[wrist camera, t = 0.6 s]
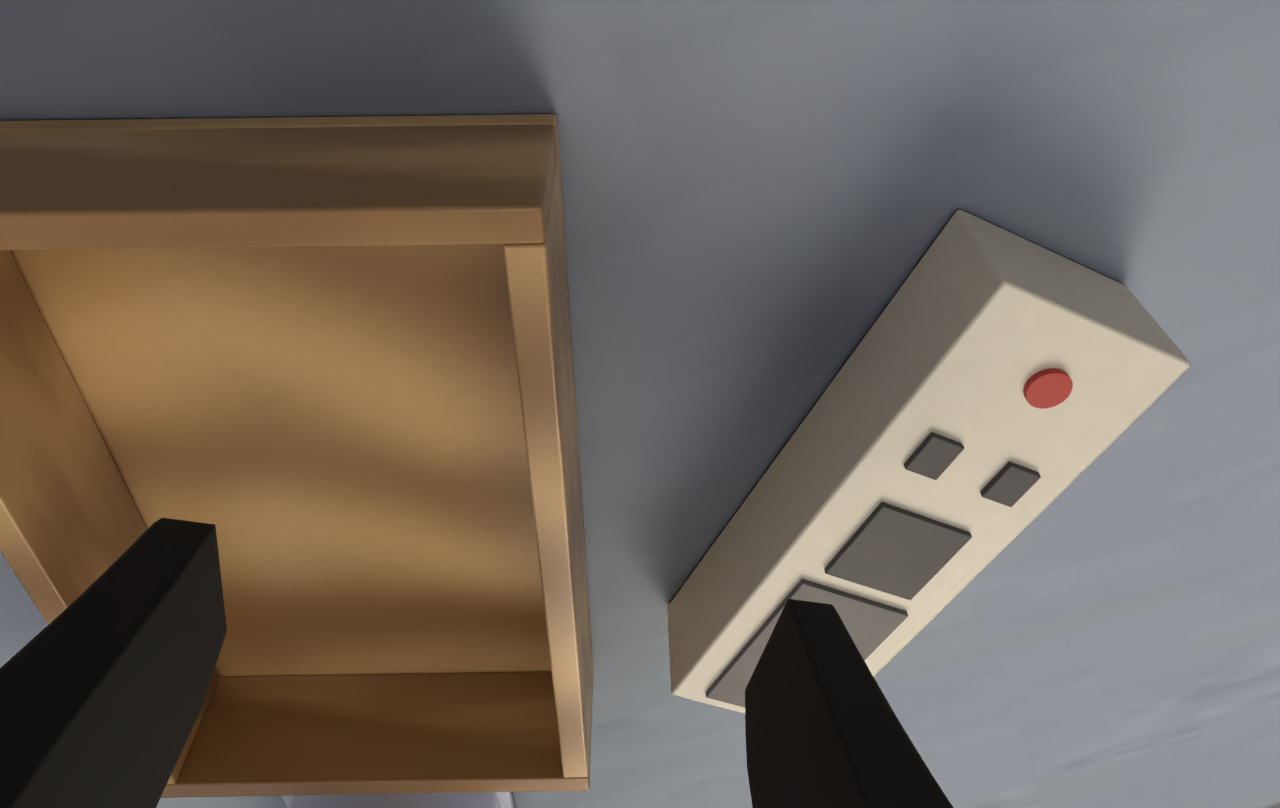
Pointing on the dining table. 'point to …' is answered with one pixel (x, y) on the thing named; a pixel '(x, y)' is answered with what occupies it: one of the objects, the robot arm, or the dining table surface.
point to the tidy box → (313, 430)
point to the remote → (924, 453)
